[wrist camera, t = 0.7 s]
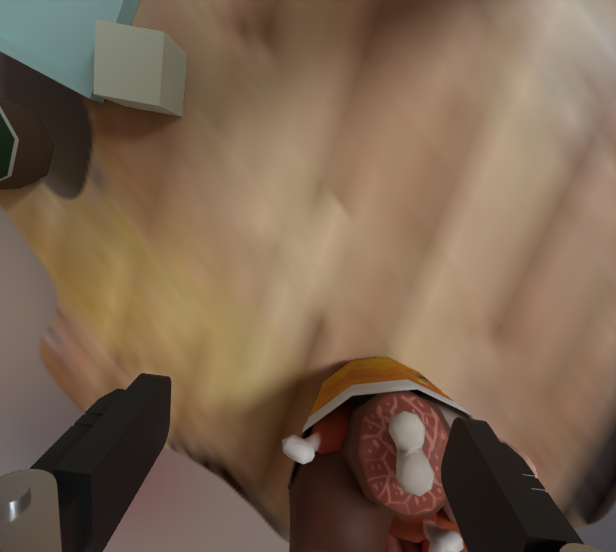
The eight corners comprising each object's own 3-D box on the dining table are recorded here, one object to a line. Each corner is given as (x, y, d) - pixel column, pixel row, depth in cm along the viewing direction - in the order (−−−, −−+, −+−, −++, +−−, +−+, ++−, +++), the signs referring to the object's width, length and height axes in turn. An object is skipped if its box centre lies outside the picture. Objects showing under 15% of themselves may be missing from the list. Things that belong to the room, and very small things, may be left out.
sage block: (129, 44, 32) (95, 19, 27) (187, 54, 32) (164, 31, 27) (126, 106, 33) (93, 93, 28) (182, 117, 33) (159, 105, 28)
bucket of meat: (282, 330, 38) (246, 487, 18) (447, 311, 37) (593, 456, 17) (308, 492, 42) (300, 752, 23) (454, 479, 41) (574, 739, 22)
